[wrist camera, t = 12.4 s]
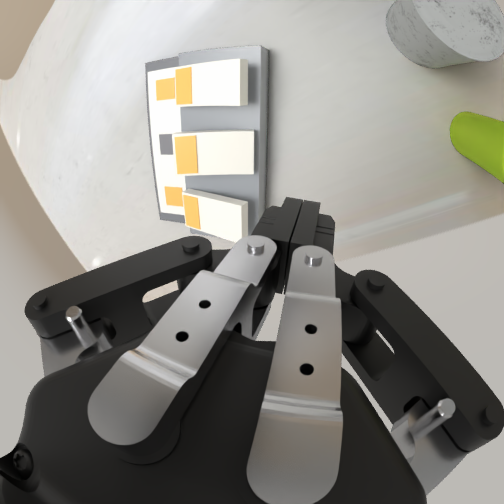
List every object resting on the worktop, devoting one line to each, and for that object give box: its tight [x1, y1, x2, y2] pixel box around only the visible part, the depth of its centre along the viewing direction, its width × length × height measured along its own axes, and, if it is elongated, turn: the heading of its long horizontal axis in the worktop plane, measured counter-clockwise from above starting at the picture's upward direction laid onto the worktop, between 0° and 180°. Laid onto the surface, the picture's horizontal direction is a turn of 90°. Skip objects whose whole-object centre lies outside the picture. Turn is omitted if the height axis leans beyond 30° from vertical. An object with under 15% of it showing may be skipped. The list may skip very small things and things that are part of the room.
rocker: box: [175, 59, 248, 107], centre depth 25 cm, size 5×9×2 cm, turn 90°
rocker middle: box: [172, 130, 254, 176], centre depth 29 cm, size 5×9×2 cm, turn 90°
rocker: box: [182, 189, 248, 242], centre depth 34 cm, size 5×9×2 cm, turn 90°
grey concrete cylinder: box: [386, 0, 504, 68], centre depth 13 cm, size 10×10×12 cm
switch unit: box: [145, 46, 269, 238], centre depth 33 cm, size 25×17×4 cm
